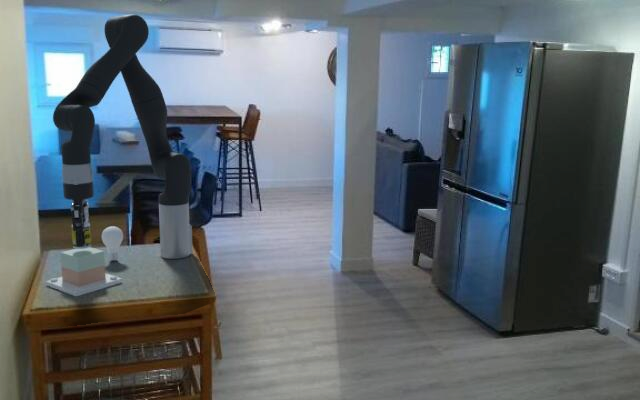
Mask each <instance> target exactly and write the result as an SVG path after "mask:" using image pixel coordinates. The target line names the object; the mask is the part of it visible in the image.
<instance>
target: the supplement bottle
mask: <svg viewBox="0 0 640 400" xmlns="http://www.w3.org/2000/svg"><path fill="white" fill-rule="evenodd" d="M77 226H81V224H80V223H77ZM91 232H92V231H91V224H90V221H89V216H86V222H85V244H84V245H77V244H76V235H75V231H73V223H72V224H71V240H72V248H73V249H85V248H89V247H91V246H92V235H91Z"/></svg>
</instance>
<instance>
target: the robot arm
mask: <svg viewBox="0 0 640 400" xmlns="http://www.w3.org/2000/svg"><path fill="white" fill-rule="evenodd" d="M149 33H150V32H149V26H148V24H147V22H146V20H145V19H144V17H142V16H141V15H138V14H132V13H131V14H124V15H117V16H113V17H111V18H108V19H107V20H106V22H105V24H104V35H105V36H104V37H105V40H106V42H107V44H108V47H109V49H108V50H107V52H105V53H104V54H103V55H102V56H100V58H98V59H97V60H96V61H95V62H94V63H93V64H91V66H89V68H88V69H87V70H86V72H85V73H84V75H83V76H82V77H81V79H80V81H79V82H78V84H77V85H76V87H75V88H74V89H73V90H72V91H70V92H69V93H68V94H67V95H65V97H64V98H62V100H61V101H60V102H59V103H58V104H57V106H55V108H54V111H53V114H52V121H53V124H54V126H55V127H56V128H58V129H59V130H60V131H64V132H71V137H70V140H67V141H64V142H63V143H62V144H61V161H62V169H61V174H62V176H61V177H62V178H61V179H62V189H63V198H64V199H65V200H69V201H70V200H71V201H72V204H71V206H70V215H71V223H72V224H73V231H75V235H76V244H77V245H84V244H85V222H86V216H88V217H89V216H90V215H89V208H90V207H89V201H88V199H91V198H94V196H95V191H94V190H95V189H94V175H93V168H92V161H91V160H92V158H91V157H92V156H91V145H92V141H93V135H94V131H95V125H96V119H95V115H94V112H93V111H92V109H91V108H92V107H96V106H98V105H100V104H101V102H102V100H103V98H105V96H106V94H107V92H108V91H109V89H110V88H111V85H112V84H113V83H114V81H115V79H116V78H117V77H118V76H119V74H120V73H121V75H122V79H123V81H124V83H125V86H126V89H127V91H128V94H129V98H130V101H131V103H132V106H133V107H132V108H133V109H134V112H135V115H136V118H137V119H138V123H139V126H140V129H141V132H142V134H143V137H144V140H145V142H146V143H145V144H146V146H147V151H148V155H149V159H150V163H151V168H152V170H153V172H154V174H155V176H156V177H157V178H159V179H161V180H162V181H164V191H163V192H161V193H159V194H158V216H159V218H158V219H159V243H160V257H162V258H164V259H167V260H168V259H169V260H170V259H171V260H176V259H177V260H178V259H183V258H184V259H185V258H187V257H189V256H190V255H192V254H193V229H192V228H193V226H192V224H190V206H189V205H190V203H189V198H190V194H191V192H192V191H191V190H192V166H191V165H192V164H191V162H190V159H189V158H188V156H186V155H185V154H183V153H180V152H174V150H173V149H172V147H171V144H170V141H169V139H168V134H167V125H168V124H167V122H168V109H167V108H168V107H167V105H166V102H165V98H164V96H163V92H162V90H161V87H160V86H159V85H158V83H157V82H156V81H155V79H154V78H153V77H152V76H151V75H150V74H149V73H148V72H147V70H146V69H145V68H144V67H143V65H142V63H141V62H140V60H139V58H138V56H137V53H138V52H139V50H141V49H142V47H143V46H144V45H145V44H146V42H147V41H148V38H149V35H150V34H149ZM77 223H80V224H81V226H77Z"/></svg>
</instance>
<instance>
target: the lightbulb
mask: <svg viewBox="0 0 640 400" xmlns="http://www.w3.org/2000/svg"><path fill="white" fill-rule="evenodd" d="M123 240H124V233H123V231H122V229H121V228H119V227H118V226H114V225H111V226H108V227H105V228H104V229H103V231H102V233H101V241H102V242H103V244H104V246H105V247H106V250H107V251H108V260H109V261H111V262H115V261H117V260H119V250H120V245H121V244H122V242H123Z"/></svg>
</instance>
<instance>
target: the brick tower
mask: <svg viewBox="0 0 640 400" xmlns="http://www.w3.org/2000/svg"><path fill="white" fill-rule="evenodd" d="M105 261H106V260H105V251H104V250H102V249H99V248H95V247H91V246H90V247H89V248H85V249H75V248H73V249H70V250H65V251H61V252H60V263H61V264H60V265H61V276H60V277H54V278H50V279H49V280H46V281H45V284H46V286H47V287H49V286H50V288H52V289H55V290H57V289H58V291H60V292H63V293H65V294H68V295H71V296H74V297H78V296H82V295H86V294H89V293H93V292H96V291H98V290H102V289H106V288H109V287H112V286H115V285H117V284H118V285H119V284H122V283H123V280H122V279H123V278H122V277H118V276H117V275H112V274H109V273H106V262H105Z"/></svg>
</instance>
